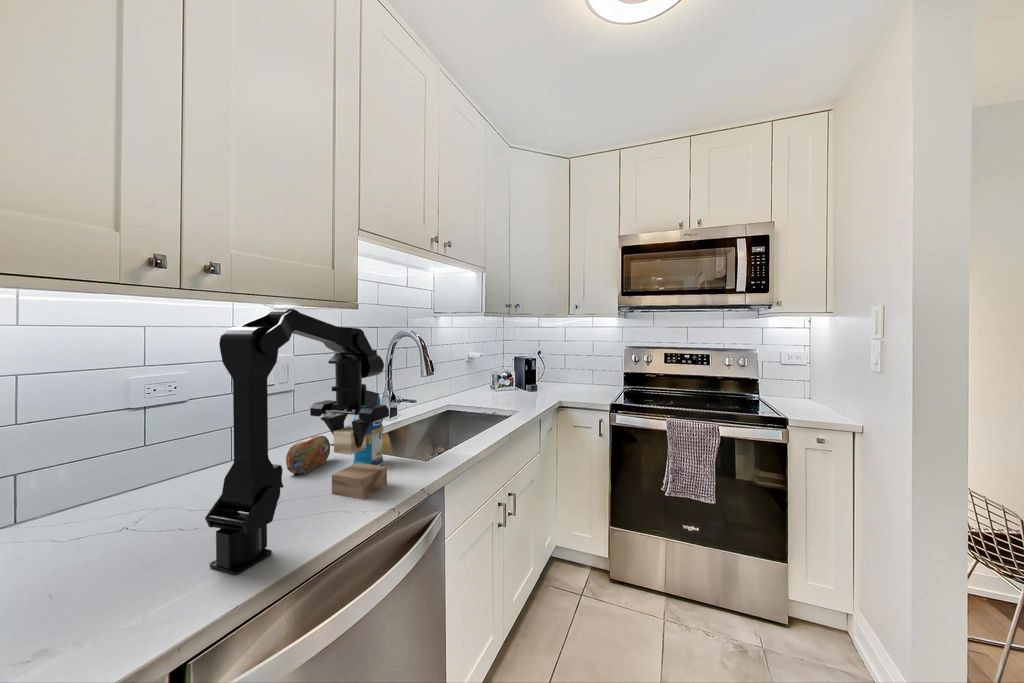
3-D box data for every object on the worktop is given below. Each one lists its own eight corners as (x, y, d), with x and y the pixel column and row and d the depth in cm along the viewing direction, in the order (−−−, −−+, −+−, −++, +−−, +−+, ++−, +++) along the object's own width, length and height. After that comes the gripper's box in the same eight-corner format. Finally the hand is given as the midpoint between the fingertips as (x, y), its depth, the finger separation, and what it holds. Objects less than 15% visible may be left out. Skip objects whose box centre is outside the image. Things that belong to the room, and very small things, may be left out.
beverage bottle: (350, 463, 114) (349, 396, 114) (379, 458, 119) (379, 393, 118) (356, 472, 107) (355, 400, 107) (386, 466, 112) (386, 397, 111)
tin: (293, 478, 103) (293, 447, 102) (283, 477, 103) (283, 446, 103) (331, 460, 117) (331, 432, 117) (322, 459, 118) (321, 432, 118)
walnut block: (362, 500, 90) (362, 479, 90) (331, 495, 93) (331, 474, 93) (386, 486, 98) (386, 466, 98) (358, 481, 101) (358, 462, 101)
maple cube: (351, 454, 89) (350, 433, 89) (333, 452, 91) (333, 431, 91) (365, 448, 94) (365, 427, 94) (349, 445, 96) (348, 425, 95)
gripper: (402, 378, 96) (403, 440, 97) (342, 375, 102) (343, 433, 103) (372, 385, 86) (373, 454, 86) (307, 381, 92) (309, 445, 92)
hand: (350, 446), depth 92 cm, fingers closed on maple cube, 5 cm apart
